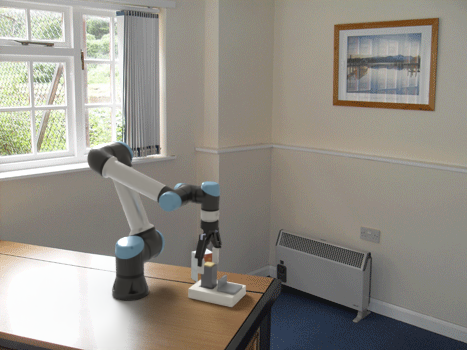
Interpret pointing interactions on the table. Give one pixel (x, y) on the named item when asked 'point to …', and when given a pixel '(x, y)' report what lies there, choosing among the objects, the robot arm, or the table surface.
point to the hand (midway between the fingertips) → (208, 267)
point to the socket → (215, 294)
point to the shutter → (227, 286)
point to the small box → (194, 274)
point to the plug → (209, 276)
